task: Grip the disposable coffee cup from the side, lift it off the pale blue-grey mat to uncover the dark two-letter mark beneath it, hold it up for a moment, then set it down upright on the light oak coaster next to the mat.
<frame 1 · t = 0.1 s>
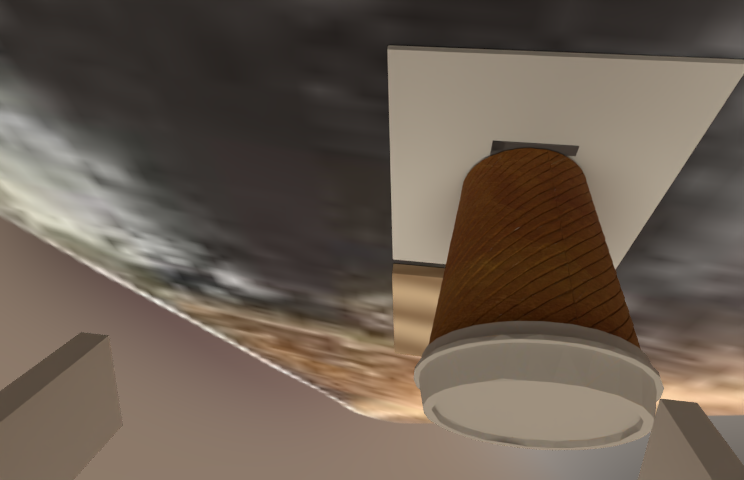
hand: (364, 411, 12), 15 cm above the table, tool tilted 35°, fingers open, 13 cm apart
disposable coffee cup: (521, 187, 27), resting on code mat
oak coaster: (482, 319, 40), on the table
code mat: (521, 184, 27), on the table
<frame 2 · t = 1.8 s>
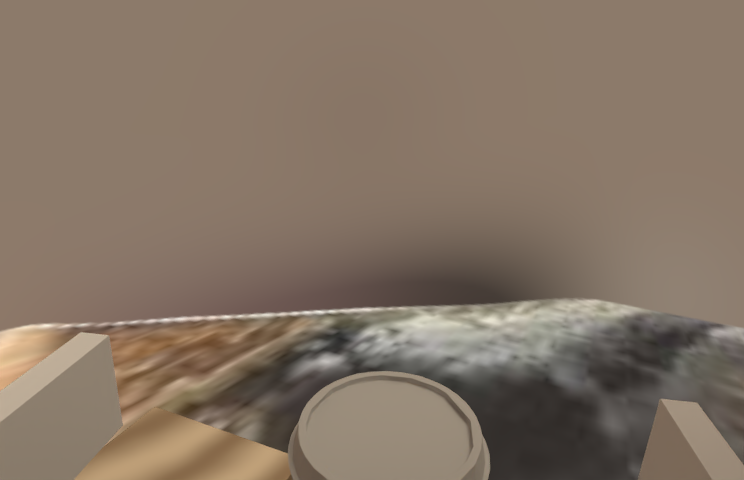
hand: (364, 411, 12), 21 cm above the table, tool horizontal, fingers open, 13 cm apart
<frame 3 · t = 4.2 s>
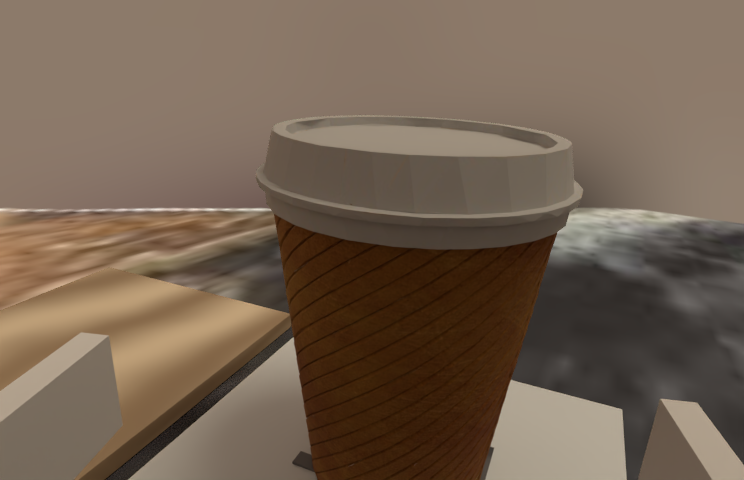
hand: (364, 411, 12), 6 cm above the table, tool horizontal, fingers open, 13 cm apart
disposable coffee cup: (395, 458, 19), resting on code mat
oak coaster: (93, 356, 25), on the table
code mat: (395, 462, 19), on the table
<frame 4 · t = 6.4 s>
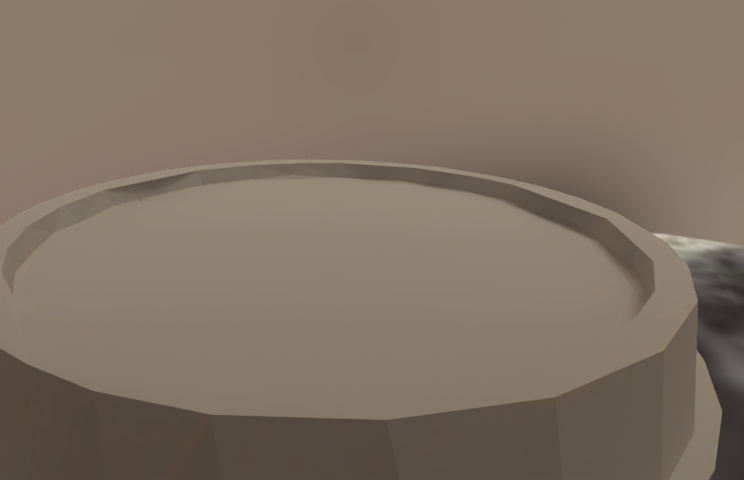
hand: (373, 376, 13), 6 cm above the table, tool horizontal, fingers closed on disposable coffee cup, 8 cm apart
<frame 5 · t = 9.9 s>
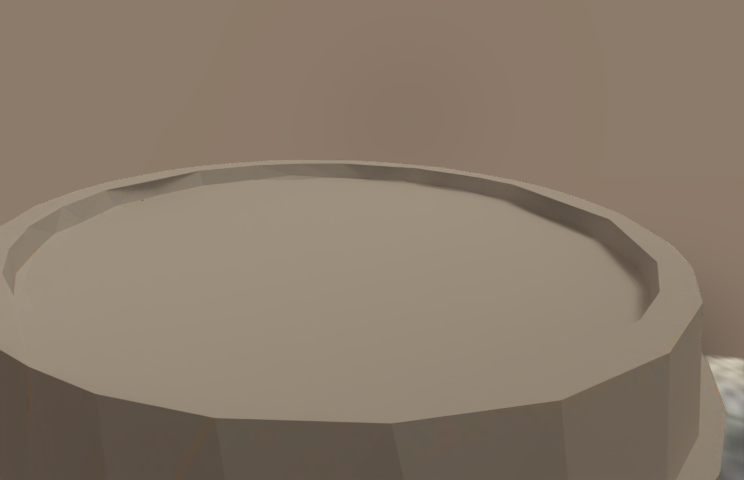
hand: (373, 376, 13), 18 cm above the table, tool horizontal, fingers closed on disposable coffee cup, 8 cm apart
when the fingers open (9 cm above the table, at t = 13.5 s): disposable coffee cup drops 2 cm, resting on oak coaster.
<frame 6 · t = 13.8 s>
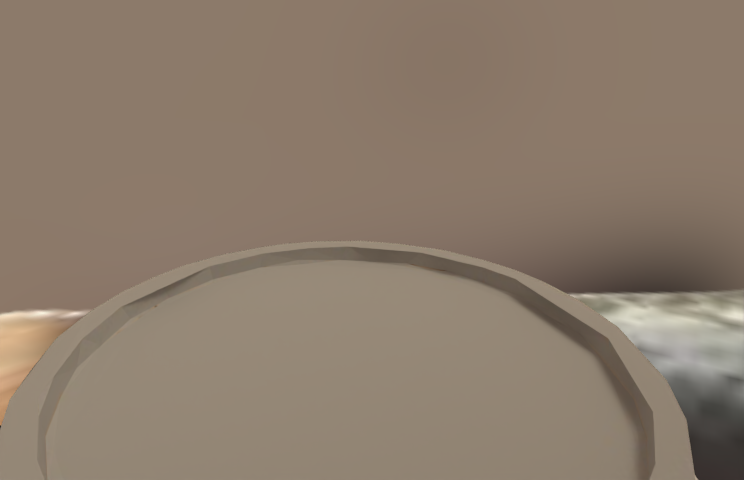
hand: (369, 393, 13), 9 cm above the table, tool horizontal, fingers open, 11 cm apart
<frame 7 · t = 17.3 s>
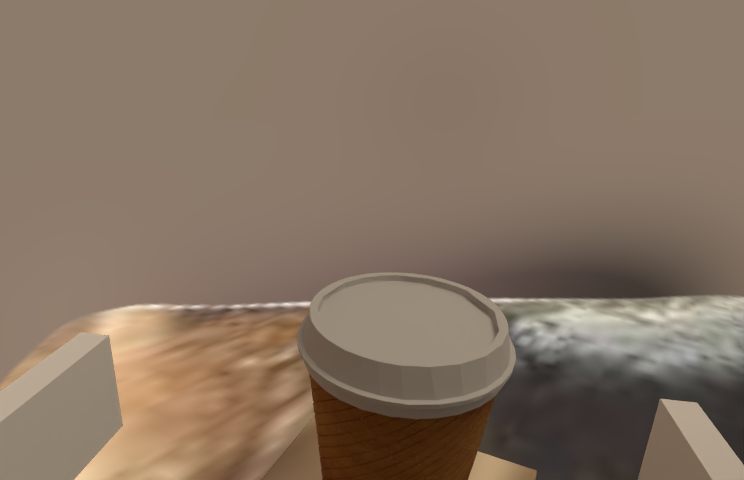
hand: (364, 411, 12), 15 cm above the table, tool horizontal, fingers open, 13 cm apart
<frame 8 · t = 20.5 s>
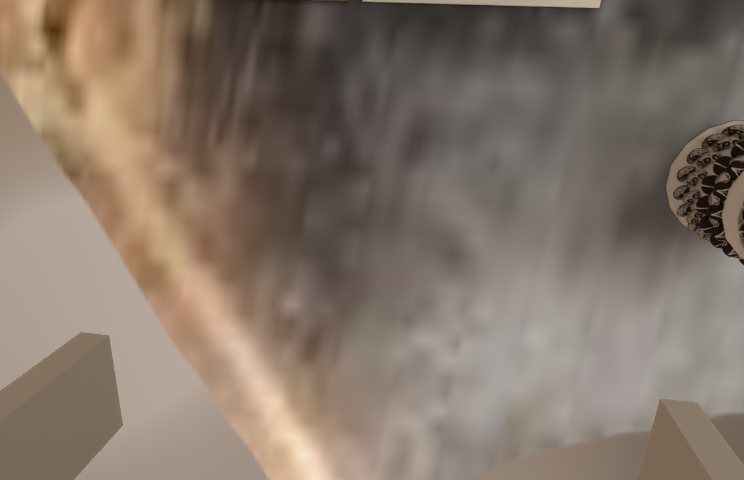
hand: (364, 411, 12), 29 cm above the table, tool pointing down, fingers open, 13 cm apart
decorative candle: (727, 179, 36), on the table
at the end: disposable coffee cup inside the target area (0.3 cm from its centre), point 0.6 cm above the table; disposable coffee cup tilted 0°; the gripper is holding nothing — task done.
